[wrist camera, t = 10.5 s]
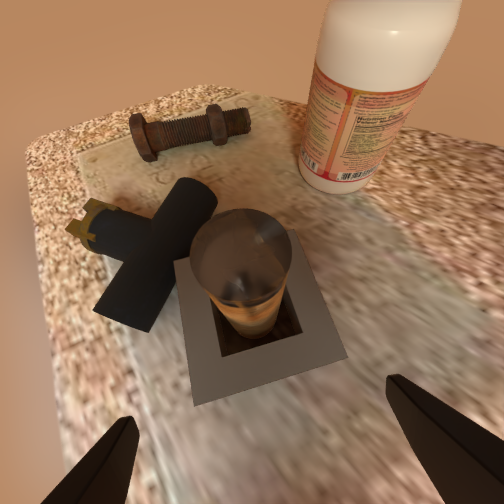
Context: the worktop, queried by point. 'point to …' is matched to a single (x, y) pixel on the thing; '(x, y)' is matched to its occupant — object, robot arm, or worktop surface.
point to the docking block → (262, 357)
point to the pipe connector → (144, 249)
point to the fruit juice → (368, 84)
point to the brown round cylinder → (243, 267)
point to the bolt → (187, 130)
